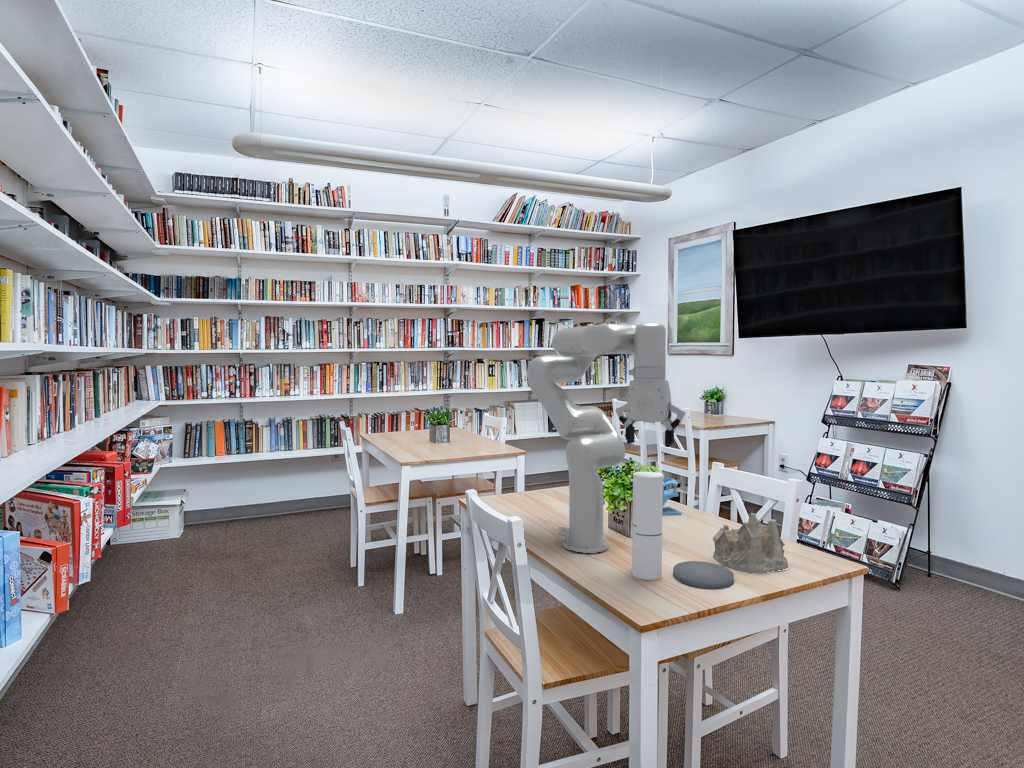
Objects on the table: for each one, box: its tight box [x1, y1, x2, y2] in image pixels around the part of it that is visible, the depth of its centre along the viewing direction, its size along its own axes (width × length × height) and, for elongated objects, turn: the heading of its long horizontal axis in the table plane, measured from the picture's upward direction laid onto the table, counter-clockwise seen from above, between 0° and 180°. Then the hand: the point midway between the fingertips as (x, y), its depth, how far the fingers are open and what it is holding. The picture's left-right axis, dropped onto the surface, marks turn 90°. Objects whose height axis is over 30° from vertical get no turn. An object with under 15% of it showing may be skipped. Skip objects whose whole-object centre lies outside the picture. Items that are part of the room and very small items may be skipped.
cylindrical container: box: [631, 471, 664, 581], centre depth 143 cm, size 7×7×25 cm
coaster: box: [672, 560, 735, 590], centre depth 141 cm, size 14×14×2 cm
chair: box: [662, 477, 682, 516], centre depth 199 cm, size 8×8×12 cm
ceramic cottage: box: [712, 512, 789, 574], centre depth 152 cm, size 16×16×15 cm
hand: (649, 444), depth 141 cm, fingers open, 9 cm apart
